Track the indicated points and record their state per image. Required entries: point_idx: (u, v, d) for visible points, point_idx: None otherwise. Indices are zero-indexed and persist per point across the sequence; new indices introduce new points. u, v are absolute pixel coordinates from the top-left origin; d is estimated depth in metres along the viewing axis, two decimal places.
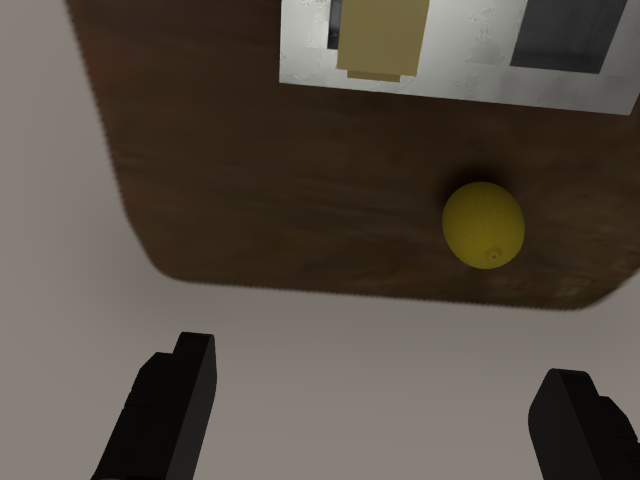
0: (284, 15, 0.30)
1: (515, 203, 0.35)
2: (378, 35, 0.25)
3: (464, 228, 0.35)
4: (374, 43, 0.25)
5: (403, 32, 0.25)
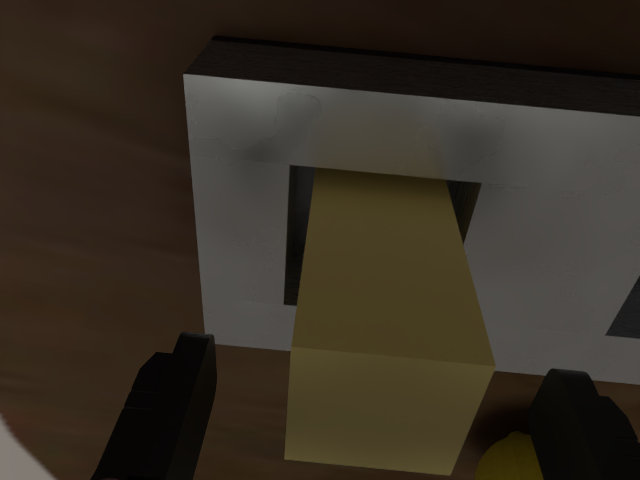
0: (204, 260, 0.17)
1: None
2: (371, 423, 0.11)
3: None
4: (362, 432, 0.12)
5: (426, 421, 0.11)
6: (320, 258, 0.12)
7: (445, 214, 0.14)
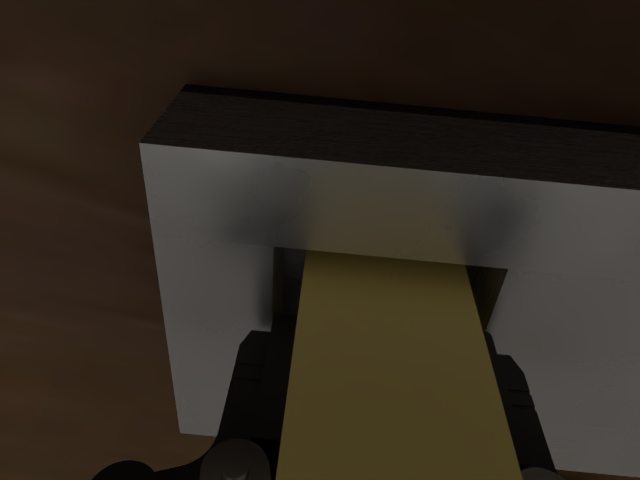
0: (174, 348, 0.14)
1: None
2: None
3: None
4: None
5: None
6: (309, 381, 0.10)
7: (465, 309, 0.12)
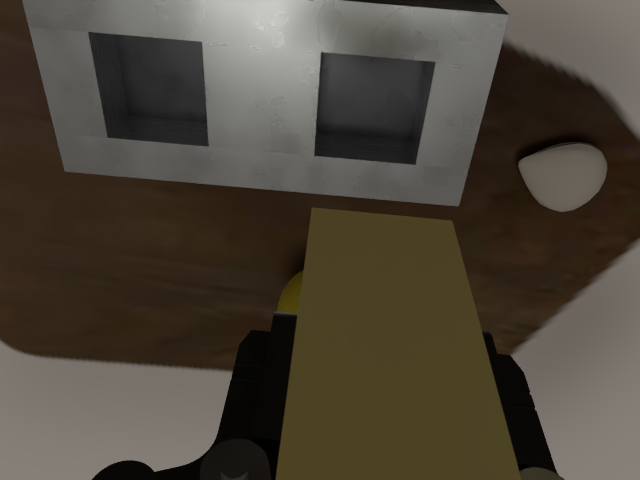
0: (51, 103, 0.27)
1: None
2: None
3: None
4: None
5: None
6: (309, 383, 0.10)
7: (464, 310, 0.12)
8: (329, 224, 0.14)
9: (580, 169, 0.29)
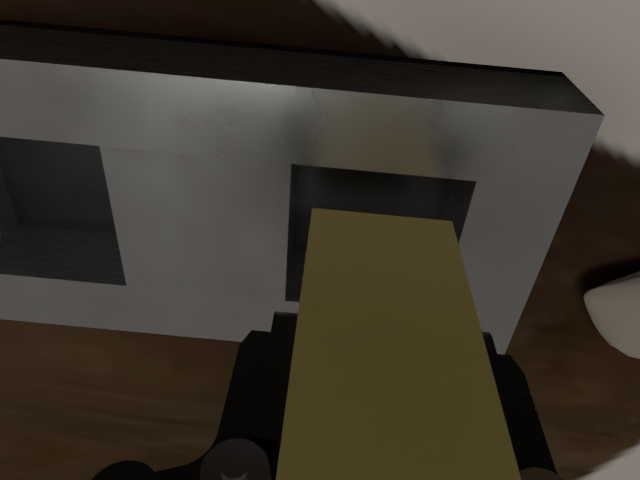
0: None
1: None
2: None
3: None
4: None
5: None
6: (309, 383, 0.10)
7: (464, 311, 0.12)
8: (329, 224, 0.14)
9: None
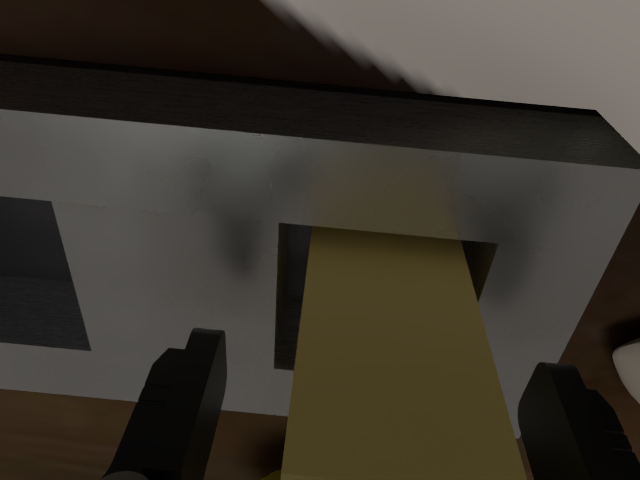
0: None
1: None
2: None
3: None
4: None
5: None
6: (317, 343, 0.11)
7: (461, 281, 0.12)
8: None
9: None
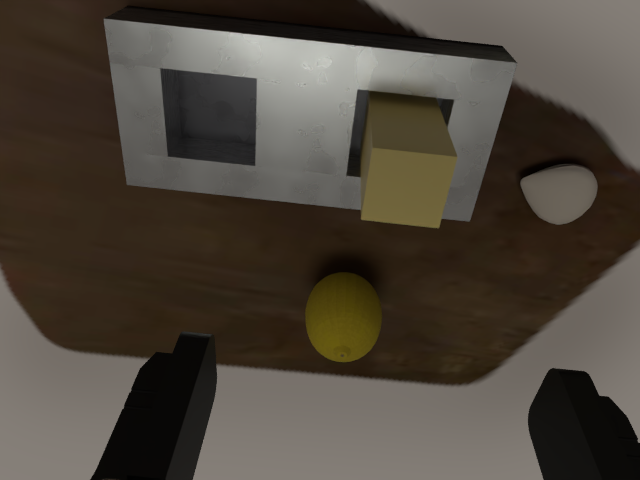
0: (121, 126, 0.31)
1: (370, 299, 0.36)
2: (403, 193, 0.25)
3: (315, 324, 0.35)
4: (399, 200, 0.26)
5: (428, 191, 0.25)
6: (379, 125, 0.27)
7: (437, 114, 0.29)
8: None
9: (574, 187, 0.33)
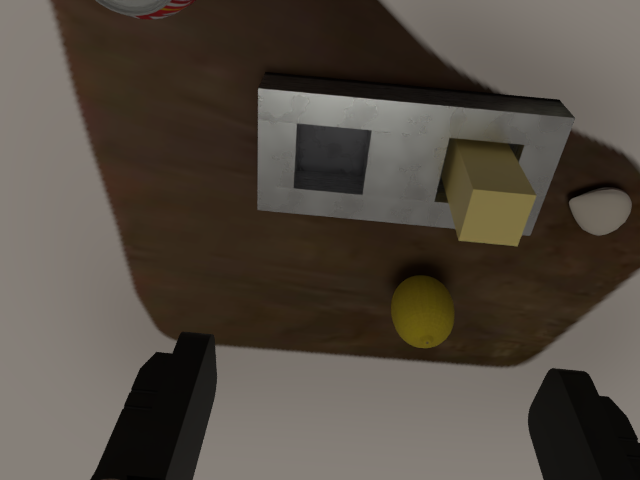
0: (260, 166, 0.39)
1: (446, 297, 0.45)
2: (493, 221, 0.34)
3: (404, 318, 0.44)
4: (489, 226, 0.34)
5: (512, 219, 0.34)
6: (471, 168, 0.35)
7: (512, 157, 0.37)
8: None
9: (613, 207, 0.41)
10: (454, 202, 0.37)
